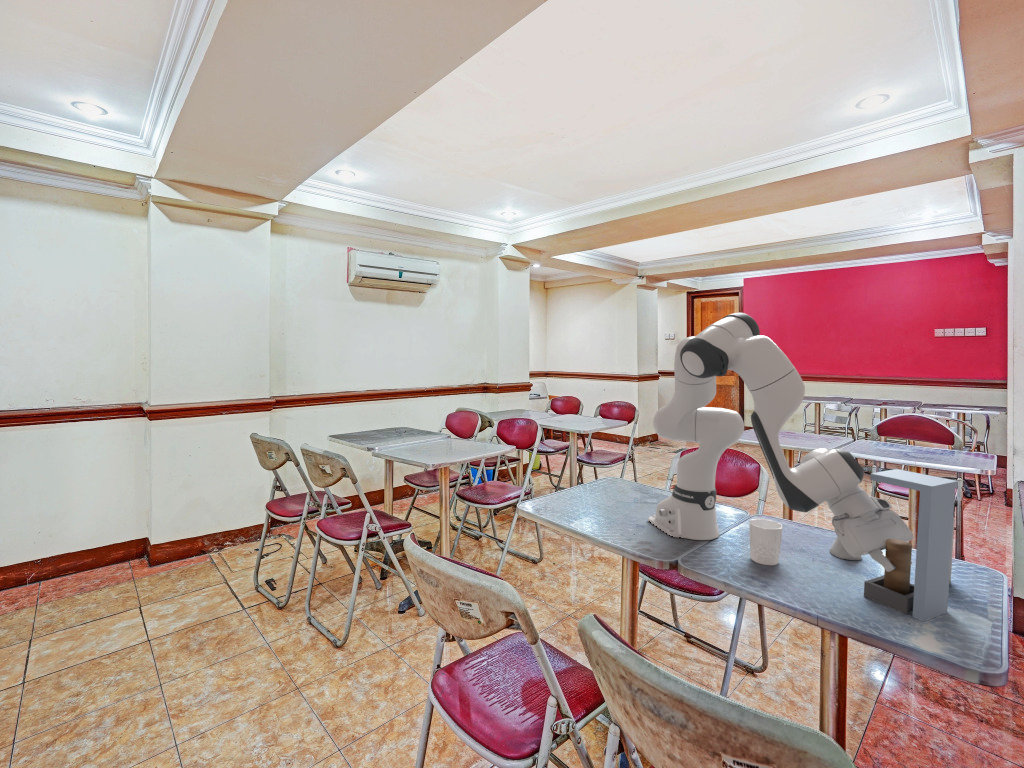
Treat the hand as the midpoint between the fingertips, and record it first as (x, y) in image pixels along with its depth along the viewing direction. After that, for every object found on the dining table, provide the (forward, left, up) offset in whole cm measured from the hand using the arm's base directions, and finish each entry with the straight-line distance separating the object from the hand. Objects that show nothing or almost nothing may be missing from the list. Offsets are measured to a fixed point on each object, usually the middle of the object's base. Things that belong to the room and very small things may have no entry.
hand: (900, 567), depth 108 cm
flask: (-21, +15, -8) cm, 27 cm away
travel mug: (-3, +20, -8) cm, 22 cm away
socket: (-1, 0, -8) cm, 8 cm away
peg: (-1, 0, -6) cm, 7 cm away
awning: (+1, +1, -8) cm, 8 cm away
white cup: (-28, -8, -8) cm, 30 cm away
